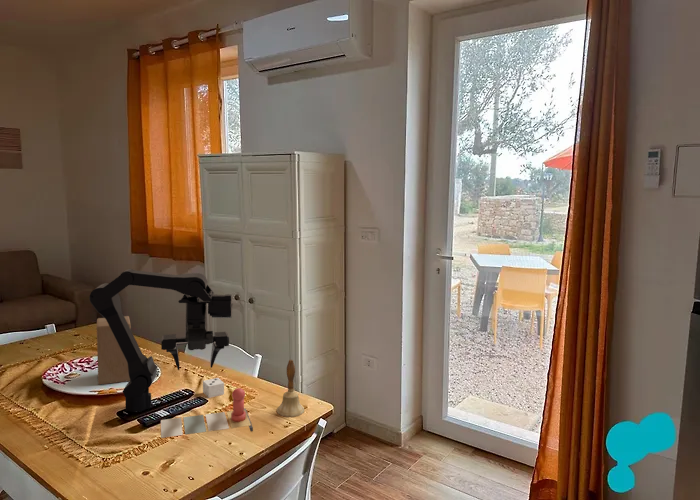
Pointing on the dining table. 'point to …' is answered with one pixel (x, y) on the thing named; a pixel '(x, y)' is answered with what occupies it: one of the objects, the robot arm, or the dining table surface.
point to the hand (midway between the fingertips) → (195, 368)
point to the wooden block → (110, 355)
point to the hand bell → (290, 396)
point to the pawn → (238, 405)
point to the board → (201, 424)
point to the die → (213, 387)
